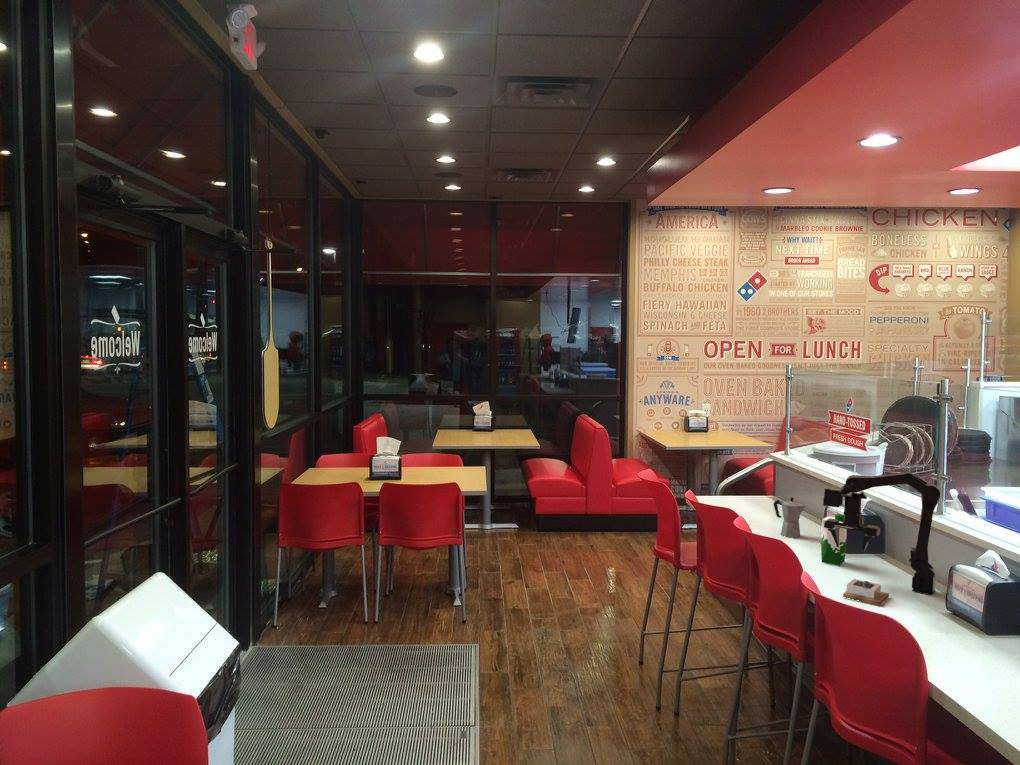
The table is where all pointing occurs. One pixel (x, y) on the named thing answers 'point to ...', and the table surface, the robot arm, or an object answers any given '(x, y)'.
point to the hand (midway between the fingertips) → (850, 549)
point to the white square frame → (863, 589)
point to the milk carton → (833, 544)
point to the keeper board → (876, 601)
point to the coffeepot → (790, 517)
